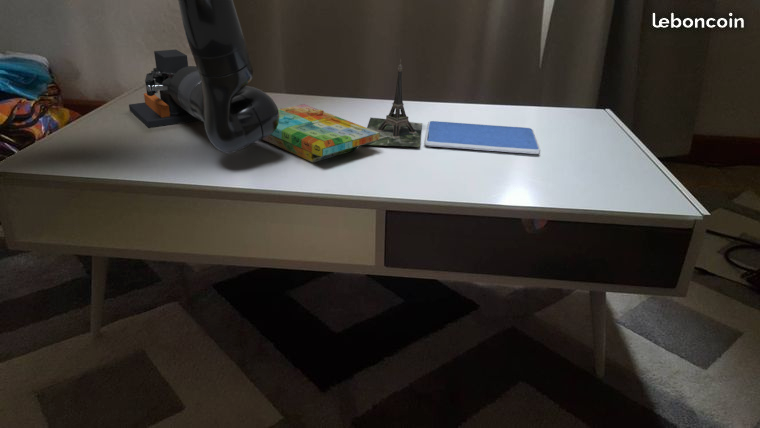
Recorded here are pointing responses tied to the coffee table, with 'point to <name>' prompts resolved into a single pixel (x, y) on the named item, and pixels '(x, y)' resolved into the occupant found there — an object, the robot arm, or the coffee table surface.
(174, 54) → the black block
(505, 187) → the coffee table surface
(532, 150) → the tablet
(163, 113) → the base pad
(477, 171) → the coffee table surface
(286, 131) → the puzzle game
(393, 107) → the eiffel tower figurine
